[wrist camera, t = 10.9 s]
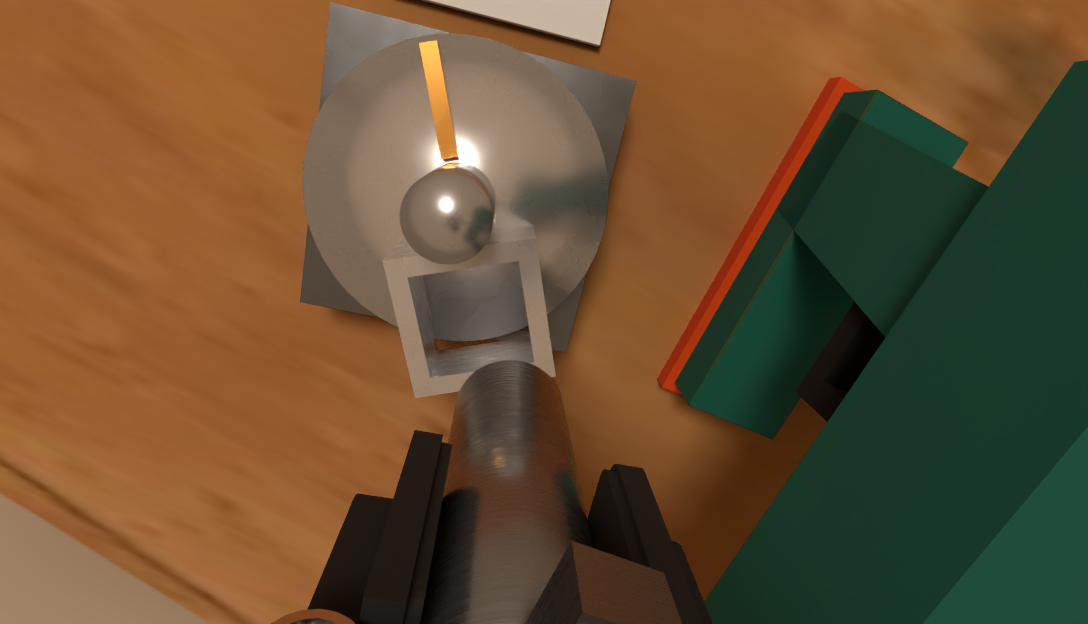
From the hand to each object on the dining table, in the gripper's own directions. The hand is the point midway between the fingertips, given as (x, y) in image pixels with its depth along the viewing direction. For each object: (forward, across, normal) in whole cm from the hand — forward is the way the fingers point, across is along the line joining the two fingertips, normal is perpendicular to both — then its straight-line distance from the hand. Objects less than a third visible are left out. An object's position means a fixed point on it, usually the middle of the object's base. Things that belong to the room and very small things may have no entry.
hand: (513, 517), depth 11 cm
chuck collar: (+17, +3, -3) cm, 17 cm away
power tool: (+21, -14, +4) cm, 26 cm away
